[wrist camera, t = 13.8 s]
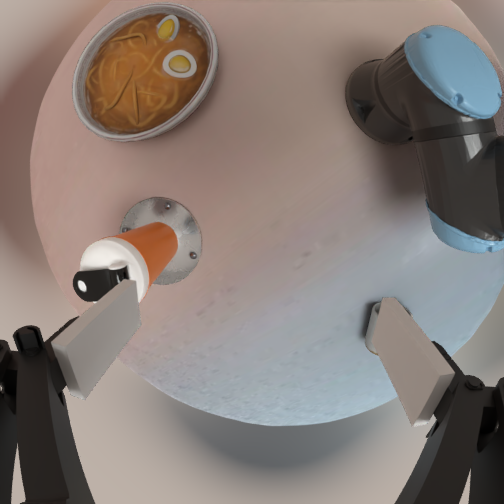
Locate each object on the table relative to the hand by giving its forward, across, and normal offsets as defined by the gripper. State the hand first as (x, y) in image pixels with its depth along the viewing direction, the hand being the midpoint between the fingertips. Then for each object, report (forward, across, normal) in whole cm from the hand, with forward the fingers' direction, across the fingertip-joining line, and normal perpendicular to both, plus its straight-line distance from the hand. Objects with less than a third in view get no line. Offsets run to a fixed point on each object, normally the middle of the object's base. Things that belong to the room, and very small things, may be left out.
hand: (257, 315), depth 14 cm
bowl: (+32, -19, +22) cm, 44 cm away
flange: (+32, -18, -5) cm, 37 cm away
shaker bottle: (+31, -18, -5) cm, 36 cm away
